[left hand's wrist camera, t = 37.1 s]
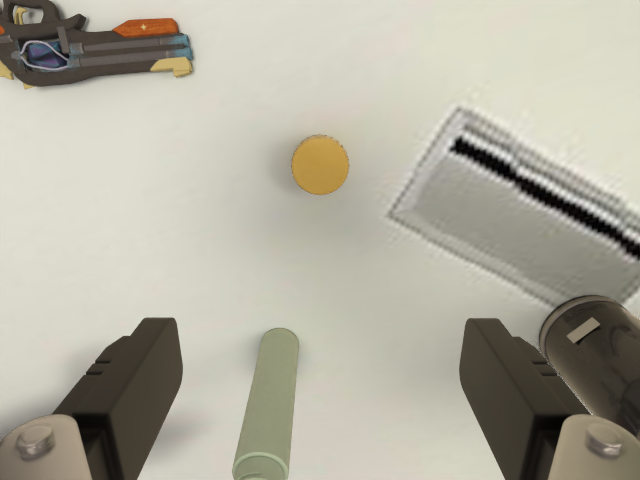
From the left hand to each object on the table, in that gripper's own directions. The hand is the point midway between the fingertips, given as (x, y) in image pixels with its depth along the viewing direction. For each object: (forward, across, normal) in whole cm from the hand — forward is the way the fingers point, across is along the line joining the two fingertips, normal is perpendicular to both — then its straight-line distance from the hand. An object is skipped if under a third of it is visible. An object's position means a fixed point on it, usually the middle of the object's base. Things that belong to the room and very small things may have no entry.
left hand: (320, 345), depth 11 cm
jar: (+29, +4, +20) cm, 35 cm away
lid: (+27, 0, 0) cm, 27 cm away
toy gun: (+29, +20, -12) cm, 37 cm away
